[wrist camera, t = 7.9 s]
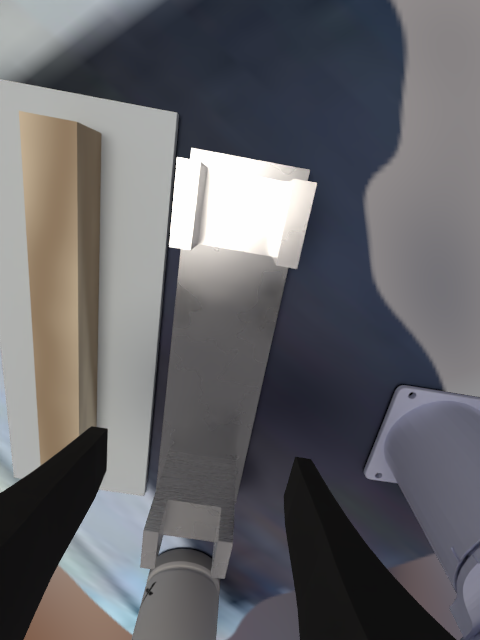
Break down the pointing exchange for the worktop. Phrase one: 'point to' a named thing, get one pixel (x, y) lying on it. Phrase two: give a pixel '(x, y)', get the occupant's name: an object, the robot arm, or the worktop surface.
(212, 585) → the travel mug
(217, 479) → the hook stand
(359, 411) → the worktop surface
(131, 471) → the mat
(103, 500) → the worktop surface
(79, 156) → the rail
